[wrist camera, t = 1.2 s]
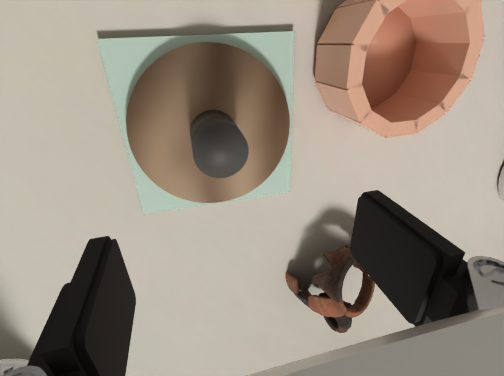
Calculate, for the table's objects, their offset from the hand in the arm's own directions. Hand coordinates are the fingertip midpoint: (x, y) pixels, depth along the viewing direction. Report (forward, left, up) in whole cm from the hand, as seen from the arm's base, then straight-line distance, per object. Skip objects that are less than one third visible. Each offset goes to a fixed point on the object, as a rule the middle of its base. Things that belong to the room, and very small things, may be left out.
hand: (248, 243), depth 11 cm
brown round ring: (-13, +21, -17) cm, 30 cm away
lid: (0, 0, -16) cm, 16 cm away
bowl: (-15, -5, -17) cm, 23 cm away
